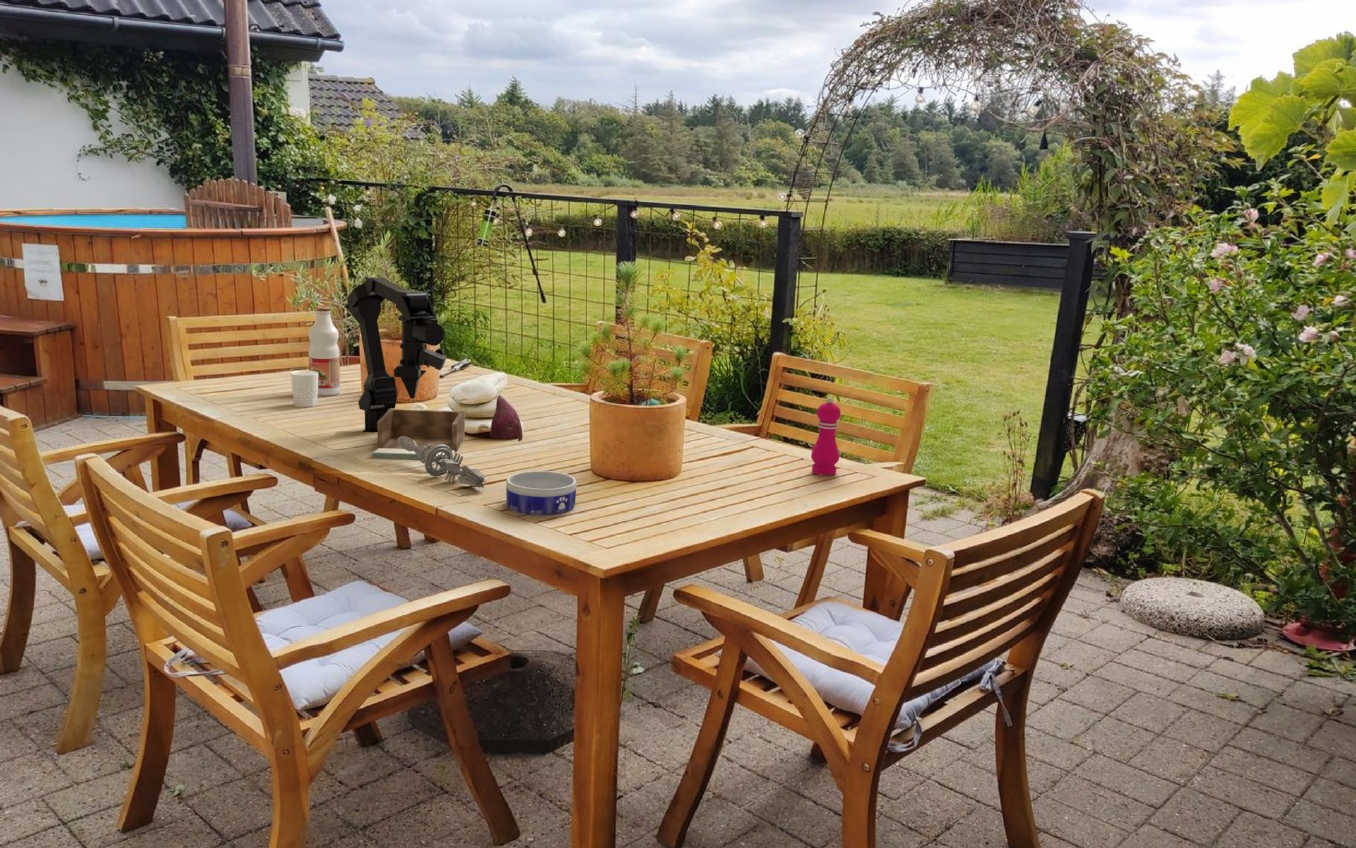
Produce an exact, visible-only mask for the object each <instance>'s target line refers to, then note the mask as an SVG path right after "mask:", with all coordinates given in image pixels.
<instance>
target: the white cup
mask: <svg viewBox="0 0 1356 848" xmlns="http://www.w3.org/2000/svg"><path fill="white" fill-rule="evenodd" d="M290 378H291V379H290V380H291V390H292V400H293V401H292V402H293V405H294V407H298V408H299V407H300V408H310V407H312V408H313V407H316V406H317V405H318V396H319V395H318V372H315V371H309V370H296V371H295V370H294V371H291V372H290Z"/></svg>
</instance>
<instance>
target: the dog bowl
mask: <svg viewBox="0 0 1356 848" xmlns="http://www.w3.org/2000/svg"><path fill="white" fill-rule="evenodd" d="M505 480H506V481H505V482H506V486H505V488H506V489H505V490H506V491H505V492H506V497H505V498H506V507H507V508H508V509H509V508H510V509H509V510H511V511H513V512H516V513H519V514H522V513H525V514H524V515H529V514H530V515H531V516H554V515H562V514H564V513H569V512H570V511H572V510H574V508H575V507H576V498H577V497H576V496H577V480H576V479H575V477H574V476H572V475H570V474H567V473H563V472H557V471H549V470H548V471H547V470H530V471H529V470H528V471H522V472H517V473H513V474H511V475H508V476H507V478H506V479H505Z"/></svg>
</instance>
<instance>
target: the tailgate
mask: <svg viewBox="0 0 1356 848" xmlns="http://www.w3.org/2000/svg"><path fill="white" fill-rule="evenodd" d="M452 453H453V456H454V455H455V453H456V452H455V451H453V450H452ZM437 454H438V457H440V455H441V452H440V453H437ZM444 456H445V454H444V453H443V455H442V458H443V457H444ZM371 458H372V459H388V460H390V459H391V460H392V459H397V460H421V458H420V457H419V456H418V455H417V454H416V453H415V452H414V451H407V450H405V449H389V448H378V447H377V449H375V450H374V451H373V452H372V453H371Z"/></svg>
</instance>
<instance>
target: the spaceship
mask: <svg viewBox="0 0 1356 848" xmlns="http://www.w3.org/2000/svg"><path fill="white" fill-rule="evenodd" d="M397 442H398V444H399V446H400V447H401V448H403V449H405V450H407V451H414V452H415V453H416V454H417V455H418V456H419V457H420V458H421V459H419V460H420V463H421V464H424V469H425V472H426V473H428V474H429V475H430V476H431V477H440V476H441V477H442V475H444V474H445V473H446V475H445V477H444V481H445V482H446V481H447V482H448V483H450V484H451V485H452V484H453V483H454V481H455V479H456V478H457V483H458V484H463V485H468V486H470V487H472V488H473V487H474V488H480V489H481V488H483V489H484V488H485V487H484V486H485V485H484V483H486V482H487V479H486V478H485V476H484V474H483V473H482V472H481V471H480V469H478V468H469V466H467V465H464V464H462V462H463V459H464V456H463V455H461V454H458V452H455V453H454V455H453V453H452V450H451V449H450V448H449V447H448V446H446V445H438V446H435V447H434V448H432V449H431V447H432V446H431V445H430V444H427V446H426V447H425V446H418V445H416V443H415V442H414V440H412V439H410V438H408V437H406V436H400V437H399V438H398V439H397ZM436 449H437V450H436ZM440 452H441V455H440V457H438V454H437V453H440ZM443 453H444V454H445V456H444V457H443V458H442V455H443ZM434 466H435V467H434Z"/></svg>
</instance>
